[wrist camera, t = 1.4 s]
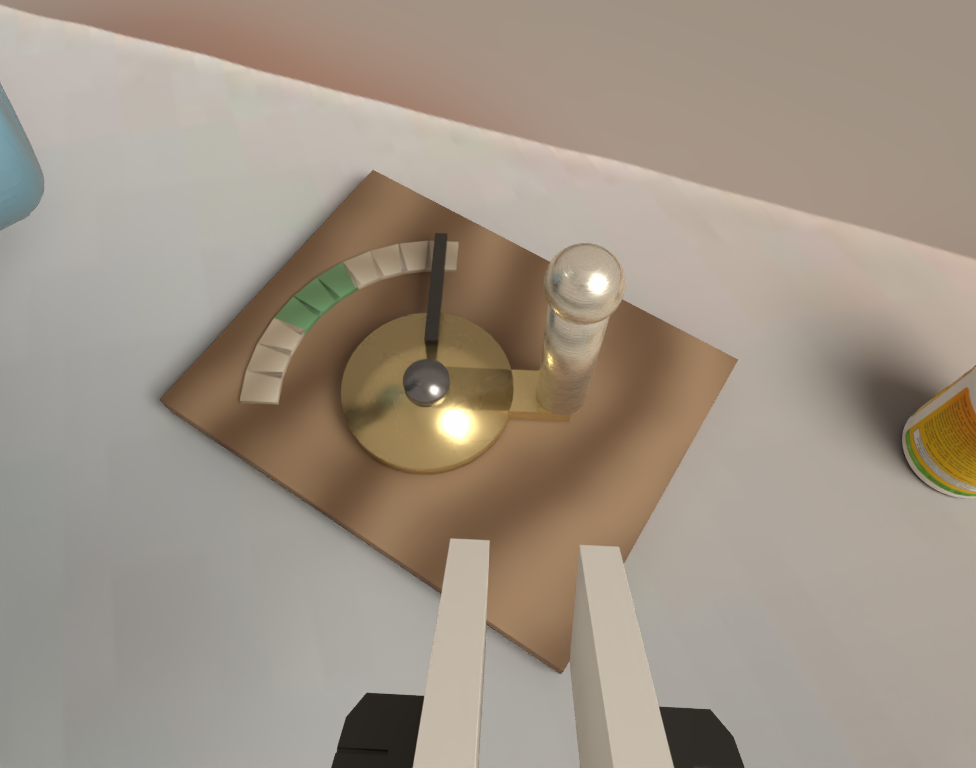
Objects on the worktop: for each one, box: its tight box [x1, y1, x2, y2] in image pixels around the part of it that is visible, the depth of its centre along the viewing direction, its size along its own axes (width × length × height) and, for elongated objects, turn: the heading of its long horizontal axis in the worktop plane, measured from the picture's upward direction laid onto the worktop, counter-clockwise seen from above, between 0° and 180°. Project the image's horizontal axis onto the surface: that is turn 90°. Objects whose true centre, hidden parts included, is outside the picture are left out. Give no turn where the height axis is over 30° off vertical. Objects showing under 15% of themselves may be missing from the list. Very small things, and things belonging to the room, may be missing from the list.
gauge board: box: [160, 170, 738, 674], centre depth 40 cm, size 25×19×2 cm
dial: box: [341, 233, 625, 475], centre depth 33 cm, size 13×13×13 cm
